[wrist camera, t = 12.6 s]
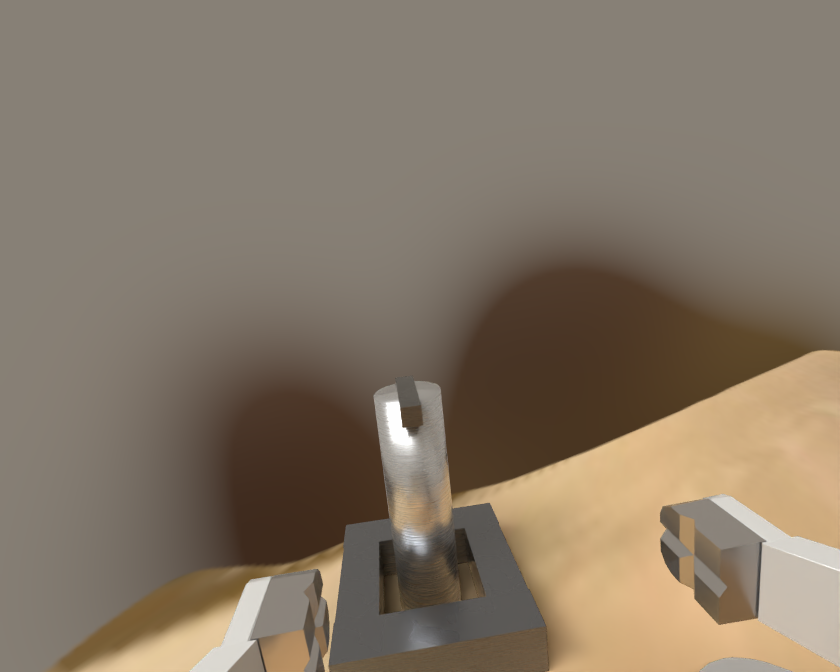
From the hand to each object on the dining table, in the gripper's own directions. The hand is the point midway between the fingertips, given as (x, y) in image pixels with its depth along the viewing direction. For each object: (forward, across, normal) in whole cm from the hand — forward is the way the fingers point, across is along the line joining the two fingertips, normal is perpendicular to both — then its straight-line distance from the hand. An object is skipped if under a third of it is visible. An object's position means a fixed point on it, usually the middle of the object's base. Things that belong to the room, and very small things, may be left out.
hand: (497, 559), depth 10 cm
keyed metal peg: (+12, +2, +13) cm, 18 cm away
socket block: (+12, +2, +13) cm, 18 cm away
